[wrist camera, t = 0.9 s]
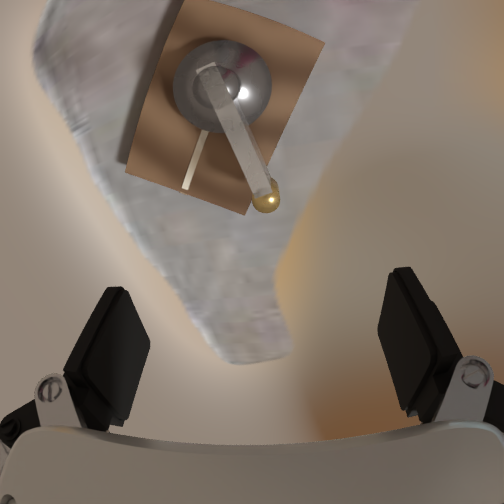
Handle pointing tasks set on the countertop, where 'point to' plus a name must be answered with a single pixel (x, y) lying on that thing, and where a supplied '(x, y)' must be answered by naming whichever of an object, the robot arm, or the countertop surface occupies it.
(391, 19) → the countertop surface
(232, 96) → the dial
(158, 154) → the walnut board
